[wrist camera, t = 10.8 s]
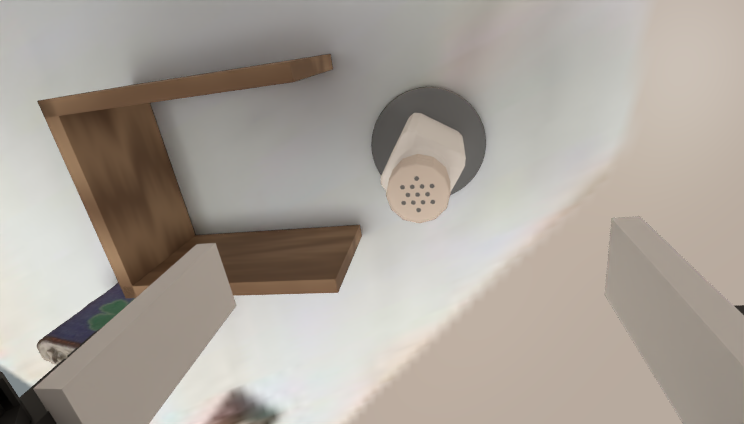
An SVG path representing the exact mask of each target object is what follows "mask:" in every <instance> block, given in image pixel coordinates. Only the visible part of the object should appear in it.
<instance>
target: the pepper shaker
mask: <svg viewBox="0 0 744 424" xmlns="http://www.w3.org/2000/svg"><path fill="white" fill-rule="evenodd" d="M465 160H466V156H465V149H464V143H463V136H462V135H461V134H460V133H459V132H458V131H456V130H454V129H452V128H450V127H448V126H446V125H444V124H442V123H440V122H438V121H436V120H434V119H432V118H430V117H428V116H426V115H424V114H422V113H413V114H412V115H411V116H410V117H409V118H408V120H407V122H406V125H405V127H404V129H403V131H402V133H401V135H400V137H399V139H398V141H397V143H396V145H395V147H394V149H393V151H392V153H391V156H390V158H389V160H388V162H387V164H386V167H385V169H384V171H383V173H382V175H381V185H382V186H383V188H384V189H385V190H386V191H387V192H386V197H387V199H388V202H389V205H390V207H391V210H392V211H394V212H395V213H396V214H397V215H398V216H400V217H401V218H402V219H403V220H407V221H411V222H416V223H423V222H426V221H430V220H434V219H436V218H437V217H438V216H439V215H440V214H441V213H442V212H443V211H444V210H445V209H446V208H447V205H448V201H449V197H450V193H451V191H452V189H453V187H454V185H455V184H456V182H457V180H458V178H459V176H460V175H461V173H462V171H463V169H464V167H465Z"/></svg>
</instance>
